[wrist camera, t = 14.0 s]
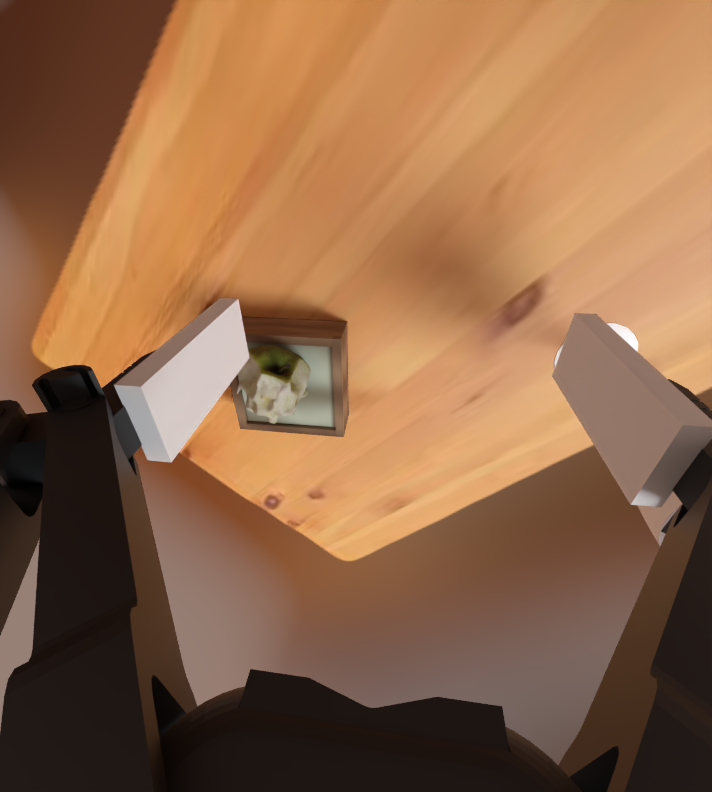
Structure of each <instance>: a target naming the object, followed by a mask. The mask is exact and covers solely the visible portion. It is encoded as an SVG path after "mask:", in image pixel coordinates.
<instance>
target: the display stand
mask: <svg viewBox="0 0 712 792" xmlns="http://www.w3.org/2000/svg"><path fill="white" fill-rule="evenodd" d="M242 321H243V326H244V332H245V337H246V342H247V347H248V350H249V349H251V348H254V347H258V346H262V345H272V346H278V347H283V348H285V349H288V350H290V351H292V352H294V353H296V354H298V355H299V356H301V357H302V358H303V359H304V361H305V362H306V363H307V364H308V365H309V367H310V369H311V372H310V376H309V380H308V385H307V387H306V389H307V391H308V393H307V395H306V397H304V398H301V399H300V400H299V402H298V404H297V405H296V412H295V413H294V416H293V415H289V416H279V417H278V420H277V422H276V423H275V424H273V423H270V422H269V421H268V418H267V417H266V416H260V415H256V414H255V413H254V412H251V411H248V410H246V407H245V405H246V401H247V395H246V392H245V391H244V390H243V389H241V390H240V391H239V393H238V394H237V389H238V385H239V379H238V374H237V375H236V377H235V378H234V379H233V381H232V382H231V383H230V387H231V391H232V395H233V400H234V404H235V408H236V412H237V416H238V421H239V425H240V429H249V430H262V431H274V432H286V433H299V434H311V435H324V436H336V437H344V433H345V428H346V424H347V420H348V415H349V407H348V344H347V322H343V321H322V320H302V319H281V318H260V317H242Z"/></svg>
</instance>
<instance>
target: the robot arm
mask: <svg viewBox="0 0 712 792" xmlns="http://www.w3.org/2000/svg"><path fill="white" fill-rule="evenodd" d="M248 359H249V353H248V347H247V342H246V337H245V332H244V326H243V321H242V316H241V311H240V305H239V300H238V299H233V298H220V299H219V300H217V301H216V302H215V303H214V304H212V305H211V306H210V307H209V308H207V309H206V310H205V311H204V312H203V313H201V314H200V315H199V316H198V317H196V318H195V319H194V320H193V321H192V322H190V323H189V324H188V325H187V326H185V327H184V328H183V329H182V330H181V331H179V332H178V333H177V334H176V335H174V336H173V337H172V338H171V339H169V340H168V341H167V342H166V343H165V344H163V345H162V346H161V347H160V348H158V349H157V350H155V351H153V352H151V353H149V354H146V355H144V356H142V357H141V358H139V359H138V360H137V361H136V362H134V363H133V364H132V366H129V367H128V368H127V369H126V370H124V373H121V374H119V375H118V376H117V377H116V378H114V379H113V380H112V381H111V382H109V383H108V384H107V385H105V386H104V387H103V388H101V386H100V384H99V382H98V380H97V378H96V376H95V374H94V372H93V370H92V369H91V367H88V366H85V365H72V366H66V367H62V368H58V369H55V370H52V371H50V372H47V373H45V374H43V375H42V376H40V377H39V378H37V379H36V380H35V381H34V383H33V384H32V386H33V388H34V390H35V391H36V393H37V394H38V396H39V398H40V399H41V401H42V403H43V404H44V406H45V407H46V409H47V411H48V412H42V413H35V414H26V413H25V412H24V410H23V409H22V408H21V406H20V404H19V403H18V402H17V401H12V400H3V401H0V635H1V632H2V630H3V627H4V625H5V623H6V620H7V618H8V615H9V612H10V610H11V608H12V605H13V603H14V600H15V598H16V595H17V593H18V590H19V588H20V585H21V582H22V580H23V578H24V575H25V573H26V570H27V568H28V565H29V563H30V560H31V558H32V556H33V553H34V551H35V548H36V546H37V543H38V540H39V538H40V542H39V557H38V573H37V589H36V605H35V620H34V637H33V650H32V655H31V658H30V660H29V662H27V663H25V664H23V665H21V666H19V667H17V668H15V669H14V671H13V672H12V674H11V676H10V677H9V679H8V682H7V687H6V692H5V696H4V704H3V713H2V722H1V732H0V792H712V411H710V408H709V407H707V406H706V405H705V404H704V403H703V402H700V400H699V399H698V398H697V397H696V396H695V395H694V394H693V393H692V392H690V391H689V390H688V389H687V388H685V387H683V386H681V385H679V384H678V383H676V382H674V381H672V380H670V379H666V378H665V377H664V376H663V375H662V374H661V373H660V372H659V371H658V370H657V369H656V368H654V367H653V366H652V365H651V364H650V363H649V362H648V361H647V360H646V359H645V358H644V357H642V356H641V355H640V354H639V353H638V352H637V351H636V350H635V349H634V348H633V347H632V346H630V345H629V344H628V343H627V342H626V341H625V340H624V339H623V338H622V337H621V336H620V335H618V334H617V333H616V332H615V331H614V330H613V329H612V328H611V327H610V326H609V325H608V324H606V323H605V322H604V321H603V320H602V319H601V318H600V317H599V316H598V315H597V314H580V313H575V314H574V317H573V319H572V322H571V325H570V328H569V331H568V333H567V336H566V339H565V342H564V345H563V347H562V350H561V353H560V356H559V359H558V361H557V364H556V367H555V370H554V372H553V375H552V377H553V378H554V380H555V381H556V383H557V385H558V386H559V388H560V390H561V391H562V393H563V395H564V396H565V398H566V399H567V401H568V403H569V404H570V406H571V408H572V409H573V411H574V413H575V414H576V416H577V417H578V419H579V421H580V422H581V424H582V426H583V427H584V429H585V431H586V432H587V434H588V436H589V437H590V439H591V440H592V442H593V444H594V445H595V447H596V449H597V450H598V452H599V454H600V455H601V457H602V458H603V460H604V462H605V463H606V465H607V467H608V468H609V470H610V471H611V473H612V475H613V476H614V478H615V480H616V481H617V483H618V485H619V486H620V488H621V489H622V491H623V493H624V494H625V496H626V498H627V499H628V501H629V503H630V504H631V505H641V506H652V507H662V506H663V504H664V503H665V502H666V500H667V499H668V497H669V496H670V495H671V493H672V492H674V493H675V494H676V496H677V497H678V498H679V500H680V501H681V502H682V504H681V506H680V507H679V508H678V509H677V511H676V512H675V513H674V515H673V516H672V517H671V518H670V520H669V521H668V522H667V524H666V525H665V526H664V527H663V529H662V530H661V532H663V533H665V537H664V539H663V541H662V544H661V546H660V548H659V550H658V553H657V555H656V557H655V560H654V562H653V564H652V567H651V569H650V571H649V573H648V576H647V578H646V580H645V583H644V585H643V587H642V590H641V592H640V594H639V597H638V599H637V601H636V603H635V606H634V608H633V610H632V613H631V615H630V617H629V619H628V622H627V624H626V627H625V629H624V631H623V633H622V635H621V638H620V640H619V642H618V645H617V647H616V649H615V652H614V654H613V656H612V658H611V661H610V663H609V666H608V668H607V670H606V672H605V675H604V677H603V679H602V681H601V684H600V686H599V688H598V691H597V693H596V695H595V698H594V700H593V702H592V704H591V707H590V709H589V711H588V714H587V716H586V718H585V721H584V723H583V725H582V727H581V729H580V731H579V733H578V735H577V737H576V738H575V740H574V741H573V743H572V744H571V746H570V747H569V749H568V750H567V752H566V753H565V755H564V757H563V758H562V760H561V762H560V764H559V766H558V765H557V764H556V763H555V762H554V761H553V760H552V759H551V758H550V757H549V756H548V755H546V754H545V753H544V752H543V751H541V750H540V749H539V748H538V747H536V746H535V745H534V744H533V743H531V742H530V741H529V740H527V739H525V738H524V737H522V736H521V735H519V734H518V733H516V732H515V731H513V730H511V729H509V728H507V727H505V721H504V716H503V709H502V706H495V705H488V704H481V703H474V702H467V701H461V700H455V699H447V698H441V697H434V698H429V699H424V700H418V701H412V702H406V703H401V704H395V705H390V706H384V707H379V708H369V707H366V706H363V705H361V704H359V703H357V702H355V701H354V700H352V699H350V698H348V697H346V696H344V695H342V694H340V693H338V692H336V691H334V690H332V689H330V688H328V687H326V686H324V685H322V684H320V683H318V682H316V681H314V680H312V679H310V678H307V677H300V676H293V675H287V674H280V673H273V672H266V671H259V670H253V669H251V670H250V673H249V676H248V679H247V682H246V686H245V687H241V688H237V689H234V690H231V691H228V692H225V693H222V694H220V695H218V696H216V697H214V698H212V699H210V700H208V701H206V702H204V703H203V704H201V705H199V706H198V707H197V704H196V701H195V698H194V695H193V692H192V690H191V687H190V685H189V682H188V680H187V677H186V674H185V670H184V667H183V663H182V659H181V654H180V650H179V645H178V641H177V636H176V632H175V627H174V623H173V619H172V614H171V610H170V605H169V601H168V596H167V592H166V588H165V583H164V579H163V574H162V570H161V566H160V561H159V557H158V552H157V548H156V544H155V539H154V535H153V530H152V526H151V522H150V517H149V513H148V509H147V504H146V500H145V495H144V491H143V487H142V482H141V478H140V473H139V469H138V465H137V462H136V460H135V458H134V455H133V454H134V453H135V452H136V451H137V450H138V449H139V448H140V447H141V446H142V448H143V451H144V453H145V455H146V457H147V460H151V461H162V462H172V461H173V459H174V458H175V457H176V455H177V454H178V453H179V451H180V450H181V449H182V447H183V446H184V445H185V443H186V442H187V441H188V439H189V438H190V437H191V435H192V434H193V433H194V431H195V430H196V429H197V427H198V426H199V425H200V423H201V422H202V421H203V419H204V418H205V417H206V415H207V414H208V413H209V411H210V410H211V409H212V407H213V406H214V405H215V403H216V402H217V401H218V399H219V398H220V397H221V395H222V394H223V393H224V391H225V390H226V389H227V387H228V386H229V385H230V383H231V382H232V381H233V379H234V378H235V377H236V375H237V374H238V373H239V371H240V370H241V369H242V367H243V366H244V365H245V363H246V362H247V361H248Z"/></svg>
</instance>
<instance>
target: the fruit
mask: <svg viewBox="0 0 712 792" xmlns="http://www.w3.org/2000/svg"><path fill="white" fill-rule="evenodd" d="M248 353H249V359H248V361H247V362H246V363H245V365H244V366H243V367H242V369H241V370H240V371H239V373H238V379H239V385H238V389H237V394H238V393H239V391H240V390H241V389H243V390H244V391H245V392H246V395H247V401H246V405H245V407H246V410H248V411H251V412H254V413H255V414H256V415H260V416H266V417H267V418H268V421H269V422H270V423H273V424H275V423H276V422H277V420H278V417H279V416H289V415H293V416H294V413H295V412H296V405H297V404H298V402H299V400H300V399H301V398H304V397H306V395H307V393H308V391H307V389H306V387H307V385H308V380H309V376H310V372H311V369H310V367H309V365H308V364H307V363H306V362H305V361H304V359H303V358H302V357H301V356H299V355H298V354H296V353H294V352H292V351H290V350H288V349H285V348H283V347H278V346H272V345H262V346H258V347H254V348H251V349H249V350H248Z"/></svg>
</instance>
